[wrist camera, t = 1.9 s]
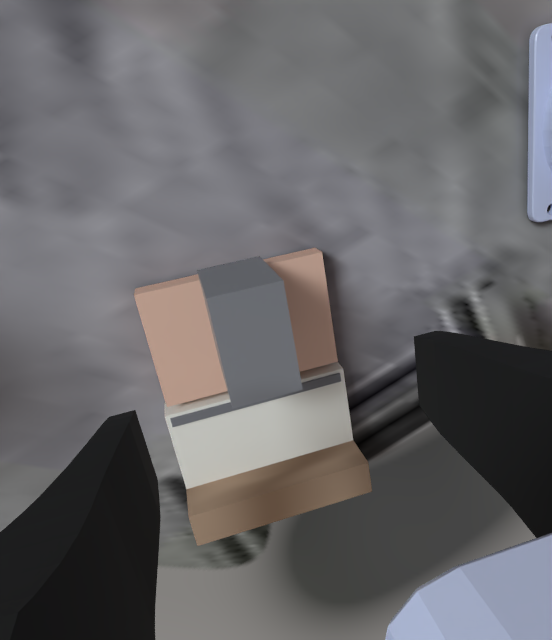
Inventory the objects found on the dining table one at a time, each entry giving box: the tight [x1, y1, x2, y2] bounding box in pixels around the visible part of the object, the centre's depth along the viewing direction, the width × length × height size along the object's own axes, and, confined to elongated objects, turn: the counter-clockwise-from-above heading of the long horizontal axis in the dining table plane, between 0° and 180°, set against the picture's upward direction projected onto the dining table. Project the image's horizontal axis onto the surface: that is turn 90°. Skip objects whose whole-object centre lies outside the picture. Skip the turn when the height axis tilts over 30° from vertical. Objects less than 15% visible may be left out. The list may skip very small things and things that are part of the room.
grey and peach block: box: [134, 248, 338, 408], centre depth 18 cm, size 8×5×5 cm
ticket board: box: [165, 362, 372, 546], centre depth 22 cm, size 8×6×3 cm
